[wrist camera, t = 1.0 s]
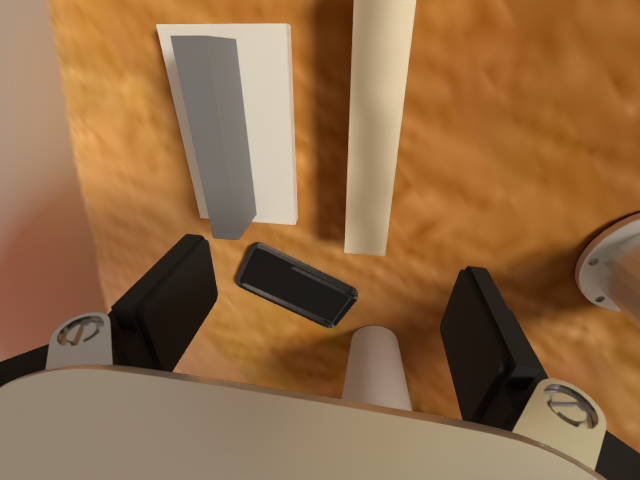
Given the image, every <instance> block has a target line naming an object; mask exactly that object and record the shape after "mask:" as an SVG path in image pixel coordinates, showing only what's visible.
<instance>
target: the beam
mask: <svg viewBox="0 0 640 480" xmlns="http://www.w3.org/2000/svg"><path fill="white" fill-rule="evenodd" d="M415 6H416V0H354V8H353V35H352V62H351V89H350V116H349V143H348V170H347V197H346V224H345V251H344V253H353V254H368V255H383V256H385V250H386V242H387V234H388V226H389V218H390V210H391V201H392V193H393V185H394V177H395V169H396V161H397V153H398V144H399V136H400V128H401V120H402V112H403V104H404V95H405V87H406V79H407V71H408V63H409V55H410V47H411V38H412V30H413V22H414V14H415Z"/></svg>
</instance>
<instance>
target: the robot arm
mask: <svg viewBox="0 0 640 480" xmlns="http://www.w3.org/2000/svg"><path fill="white" fill-rule="evenodd" d="M575 281H576V285H577V286H578V288H579V290H580V291H581V292H582V294H583V295H584V296H585V297H586V298H587V299H588V300H589V301H591V302H592V303H593V304H595V305H597V306H600V307H602V308H605V309H609V310H613V311H622V312H623V313H624V314H625V315H626V316H627V317H628V318H629V319H630V320H631V321H632V322H633V323H634V324H635V325H636V326H637V327H638V328H639V329H640V213H638V214H635V215H632V216H630V217H628V218H625V219H623V220H621V221H619V222H617V223H615V224H614V225H612V226H611V227H609V228H608V229H606V230H604V231H603V232H602V233H601V234H599V235H598V236H597V237H596V238H595V239H593V240H592V241H591V243H590V244H589V245H588V246H587V247H586V248H585V249H584V251H583V253H582V254H581V256H580V257H579V259H578V262H577V265H576V267H575ZM217 297H218V292H217V286H216V280H215V275H214V269H213V264H212V258H211V253H210V247H209V243H208V241H207V240H205V239H204V237H203V236H202V235H193V234H186V235H185V236H184V237H183V238H182V239H181V240H180V241H179V242H177V243H176V244H175V245H174V246H173V247H172V248H171V249H170V250H169V251H168V252H167V253H166V254H165V255H164V256H163V257H162V258H161V259H160V260H159V261H158V262H157V263H156V264H155V265H154V266H153V267H152V268H151V269H150V270H149V271H148V272H147V273H146V274H145V275H144V276H143V277H142V278H141V279H139V280H138V281H137V282H136V283H135V284H134V285H133V286H132V287H131V288H130V289H129V290H128V291H127V292H126V293H125V294H124V295H123V296H122V297H121V298H120V299H119V300H118V301H117V302H116V303H115V304H114V305H113V306H112V307H111V308H112V311H111V312H110V313H109V314H108V315H106V314H104V313H100V312H90V313H85V314H81V315H78V316H76V317H73V318H71V319H70V320H68V321H66V322H64V323H63V324H62V325H61V326H59V327H58V328H57V329H56V330H55V332H54V333H53V334H52V336H51V339H50V343H49V344H48V345H45V346H42V347H40V348H37V349H34V350H32V351H29V352H26V353H23V354H20V355H18V356H15V357H13V358H10V359H7V360H5V361H2V362H0V480H640V454H639V453H638V452H636V451H635V450H634V449H632V448H631V447H629V446H628V445H626V444H625V443H624V442H622V441H621V440H619V439H618V438H617V437H615V436H614V435H612V434H611V433H609V432H608V431H607V430H606V419H605V416H604V414H603V412H602V410H601V409H600V408H599V406H598V405H597V404H596V402H595V401H593V400H592V399H591V398H590V397H589V396H588V395H587V394H586V393H584V392H583V391H582V390H580V389H579V388H577V387H575V386H573V385H572V384H570V383H568V382H565V381H562V380H558V379H549V378H548V376H547V374H546V372H545V371H544V369H543V367H542V365H541V363H540V361H539V360H538V358H537V356H536V354H535V352H534V351H533V349H532V347H531V345H530V343H529V342H528V340H527V338H526V336H525V334H524V332H523V331H522V329H521V327H520V325H519V323H518V322H517V320H516V318H515V316H514V314H513V313H512V312H511V310H509V309H508V307H507V306H506V304H505V302H504V300H503V298H502V296H501V295H500V293H499V291H498V289H497V287H496V285H495V284H494V282H493V280H492V278H491V276H490V274H489V272H488V271H487V269H486V268H480V267H471V266H468V267H466V269H465V270H460V272H459V274H458V277H457V280H456V283H455V285H454V288H453V291H452V294H451V296H450V299H449V302H448V305H447V307H446V310H445V313H444V316H443V319H442V321H441V325H440V332H441V336H442V340H443V344H444V348H445V352H446V356H447V360H448V364H449V368H450V372H451V376H452V380H453V384H454V388H455V392H456V396H457V400H458V404H459V408H460V411H461V415H462V419H463V420H457V419H452V418H447V417H441V416H436V415H430V414H425V413H420V412H414V411H408V410H402V409H396V408H390V407H384V406H378V405H372V404H366V403H360V402H354V401H348V400H342V399H336V398H330V397H324V396H318V395H312V394H306V393H300V392H294V391H288V390H281V389H275V388H269V387H263V386H257V385H251V384H244V383H238V382H232V381H225V380H219V379H212V378H206V377H200V376H193V375H187V374H181V373H174V372H172V371H173V370H174V368H175V366H176V365H177V363H178V362H179V360H180V358H181V357H182V355H183V354H184V352H185V350H186V349H187V347H188V346H189V344H190V342H191V341H192V339H193V338H194V336H195V334H196V333H197V331H198V330H199V328H200V326H201V325H202V323H203V322H204V320H205V318H206V317H207V315H208V314H209V312H210V310H211V309H212V307H213V306H214V304H215V302H216V300H217Z"/></svg>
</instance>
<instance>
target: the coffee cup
mask: <svg viewBox="0 0 640 480" xmlns="http://www.w3.org/2000/svg"><path fill="white" fill-rule="evenodd" d="M342 400H348V401H354V402H360V403H366V404H372V405H378V406H384V407H390V408H396V409H402V410H408V411H412V408H411V403H410V398H409V393H408V389H407V384H406V379H405V374H404V369H403V364H402V359H401V355H400V350H399V345H398V340H397V337H396V335H395V334H394V333H393V332H392V331H390V330H389V329H387V328H385V327H381V326H365V327H362V328H360V329H358V330H357V331H356V332H355V333H354V334H353V336H352V340H351V346H350V352H349V358H348V364H347V370H346V376H345V382H344V388H343V394H342Z"/></svg>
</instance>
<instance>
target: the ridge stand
mask: <svg viewBox="0 0 640 480" xmlns="http://www.w3.org/2000/svg"><path fill="white" fill-rule="evenodd" d="M156 26H157V31H158V35H159V39H160V44H161V48H162V53H163V57H164V61H165V66H166V70H167V74H168V79H169V83H170V87H171V92H172V96H173V100H174V105H175V109H176V114H177V118H178V122H179V127H180V131H181V135H182V140H183V144H184V148H185V153H186V157H187V161H188V166H189V170H190V175H191V179H192V183H193V188H194V192H195V196H196V201H197V205H198V209H199V214H200V218H206V219H209V221H210V225H211V230H212V235H213V238H216V239H229V240H239V239H240V237H241V236H242V234H243V233H244V232H245V230H246V229H247V227H248V226H249V225H250V223H251V222H262V223H276V224H290V225H295V224H296V222H297V219H298V210H297V184H296V158H295V132H294V106H293V80H292V54H291V28H290V25H289V24H156Z"/></svg>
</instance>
